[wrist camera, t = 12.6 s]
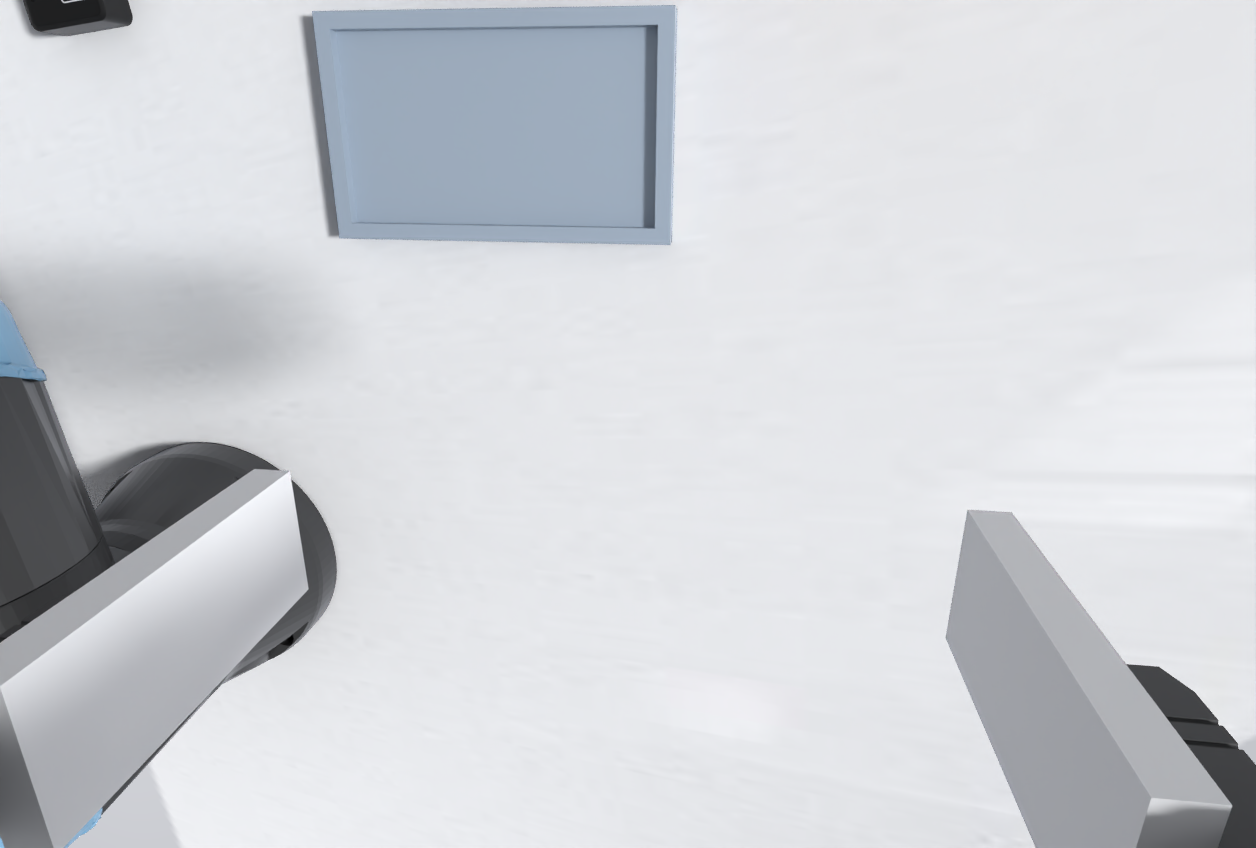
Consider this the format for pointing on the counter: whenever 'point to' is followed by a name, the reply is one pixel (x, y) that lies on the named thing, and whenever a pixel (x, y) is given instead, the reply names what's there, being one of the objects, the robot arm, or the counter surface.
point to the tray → (501, 123)
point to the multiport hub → (77, 15)
